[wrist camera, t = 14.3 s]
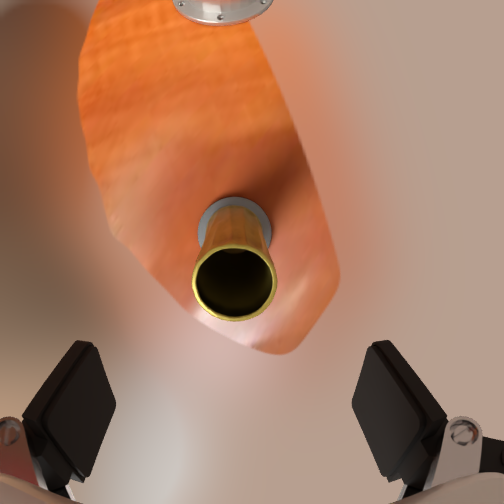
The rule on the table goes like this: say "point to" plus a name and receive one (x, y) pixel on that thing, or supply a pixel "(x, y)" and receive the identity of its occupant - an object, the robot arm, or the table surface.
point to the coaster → (237, 202)
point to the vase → (234, 266)
